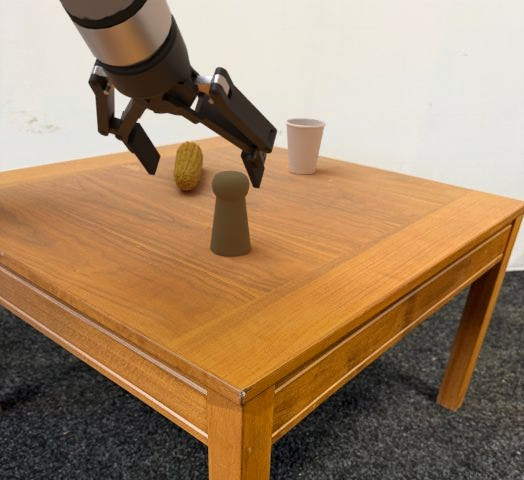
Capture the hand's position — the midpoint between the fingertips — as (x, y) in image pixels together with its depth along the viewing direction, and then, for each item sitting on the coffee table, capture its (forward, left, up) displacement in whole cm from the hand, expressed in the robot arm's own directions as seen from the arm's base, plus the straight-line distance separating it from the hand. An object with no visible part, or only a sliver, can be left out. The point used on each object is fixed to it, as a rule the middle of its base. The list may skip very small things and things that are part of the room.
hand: (205, 171), depth 66 cm
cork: (0, +9, -13) cm, 16 cm away
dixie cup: (-1, +56, -13) cm, 58 cm away
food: (-20, +39, -13) cm, 46 cm away
